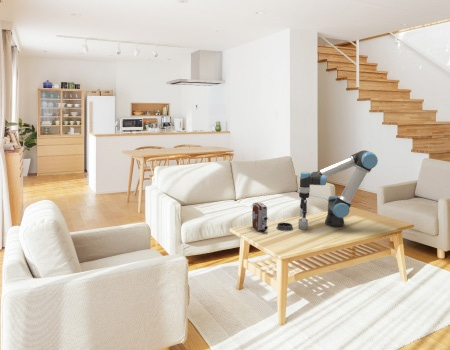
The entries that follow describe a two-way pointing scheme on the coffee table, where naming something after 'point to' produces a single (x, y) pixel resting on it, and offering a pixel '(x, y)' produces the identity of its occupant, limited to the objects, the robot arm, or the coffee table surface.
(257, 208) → the cine camera
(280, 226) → the lens barrel
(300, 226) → the grey cube
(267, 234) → the coffee table surface
